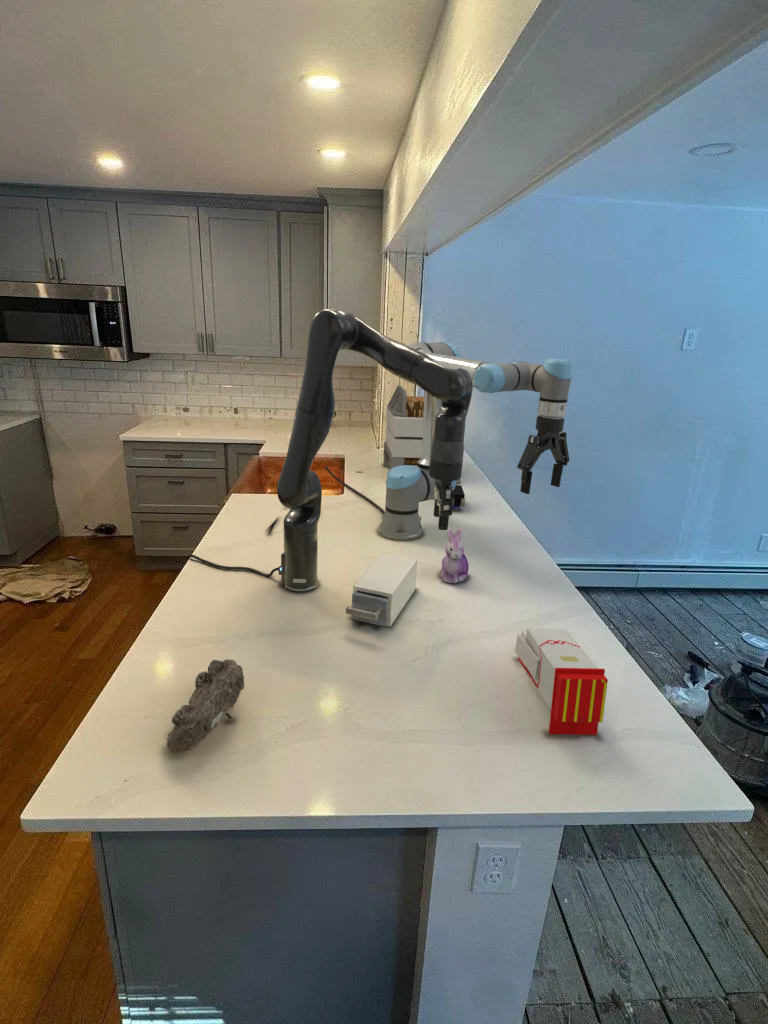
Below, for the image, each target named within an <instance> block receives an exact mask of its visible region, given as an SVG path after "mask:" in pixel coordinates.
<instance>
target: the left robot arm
mask: <svg viewBox="0 0 768 1024" xmlns="http://www.w3.org/2000/svg"><path fill="white" fill-rule="evenodd" d="M308 331H309V332H308V339H307V348H306V349H307V351H306V357H305V358H306V360H305V367H304V371H303V377H302V381H301V386H300V392H299V396H298V400H297V404H296V409H295V412H294V413H295V414H294V419H293V424H292V430H291V433H290V438H289V443H288V447H287V453H286V455H285V458H284V463H283V465H282V468H281V472H280V475H279V477H278V480H277V485H276V495H277V499H278V501H279V502H280V504H281V505H282V506H283V507H286V508H285V509H289V511H288V512H287V514H286V515H285V516H284V518H283V521H282V522H283V523H282V524H283V525H282V526H283V527H282V529H283V552H282V553H281V554H280V566H278V567H275V568H273V569H271V571H270V573H263V572H261V571H259V570H257V569H255V568H252V567H248V566H247V567H246V566H227V565H220V564H217V563H214V562H211V561H208V560H206V559H204V558H201V557H199V556H197V555H196V554H189V555H187V556H186V557H185V559H190V558H193V559H196V560H197V561H199V562H202V563H205V564H207V565H209V566H212V567H215V568H218V569H223V570H244V571H249V572H250V571H251V572H253V573H255V574H257V575H259V576H262V577H265V578H269V577H272V576H273V574H274V572H277V571H278V575H280V577H281V578H280V579H281V586H283V587H285V588H286V589H287V590H289V591H292V592H300V593H301V592H309V591H312V590H314V589H315V588H317V587H318V583H319V581H318V524H319V521H320V518H321V513H322V512H321V511H322V496H323V494H322V493H323V491H322V489H323V488H322V483H321V479H320V477H319V475H318V474H317V473H316V472H315V471H313V469H311V467H312V463H313V461H314V459H315V458H316V455H317V454H318V452H319V451H320V450H321V447H322V446H323V444H324V442H325V441H326V439H327V437H328V435H329V433H330V430H331V426H332V423H333V418H334V414H335V408H336V396H335V390H334V383H333V376H334V368H335V364H336V361H337V359H338V358H337V357H338V354H339V351H343V350H347V351H351V352H355V353H359V354H361V355H364V356H366V357H368V358H370V359H372V360H374V361H375V362H376V363H377V364H379V366H381V367H382V368H384V369H385V370H386V371H388V372H389V373H391V374H392V375H394V376H396V377H398V378H400V379H402V380H403V381H406V382H408V383H411V384H413V385H416V386H418V387H419V388H420V389H421V390H422V391H423V392H424V391H426V392H427V393H428V394H430V395H431V396H433V397H435V398H436V399H438V400H441V401H442V402H441V408H440V411H439V412H438V413H437V415H436V417H435V422H434V434H433V441H432V445H431V455H430V466H429V476H430V477H431V478H433V479H435V484H434V493H433V495H434V499H433V501H434V507H433V517H435V518H438V522H437V528H438V530H439V531H448V530H449V520H450V516H452V515H453V510H452V506H453V495H454V490H453V487H452V484H451V482H452V481H454V480H455V481H456V480H459V479H460V480H461V478H462V470H463V464H464V463H463V462H464V453H465V435H466V420H467V415H468V412H469V409H470V404H471V401H472V397H473V389H474V387H473V381H472V378H471V375H470V374H469V373H468V372H467V371H466V370H465V369H462V368H454V369H448V368H446V367H443V366H441V365H439V364H437V363H435V362H434V360H433V359H432V358H431V357H430V356H428V355H426V354H424V353H422V352H420V351H418V350H415V349H413V348H411V347H409V346H408V345H406V344H404V343H402V342H400V341H397V340H395V339H394V338H391V337H389V336H387V335H385V334H382V332H379V331H378V330H377V329H374V328H373V327H371V326H370V325H368V324H367V323H366V322H364V321H362V320H361V319H359V318H358V317H357V316H356V315H354V314H353V313H351V312H350V311H347V310H345V309H341V308H325V309H321V310H319V311H318V312H316V313H315V315H314V316H313V317H312V320H311V323H310V326H309V330H308ZM445 507H447V509H445Z"/></svg>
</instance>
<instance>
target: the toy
mask: <svg viewBox="0 0 768 1024" xmlns="http://www.w3.org/2000/svg"><path fill="white" fill-rule="evenodd" d="M520 632H521V633H520V634H519V633H518V634H517V635H516V642H515V647H514V653H515V654H516V655H517V660H518V661H519V663H520V664H521V666H522V667H523V669H524V670H525V672H526V673H527V675H528V676H529V678H530V680H531V681H532V683H533V684H534V685H535V687H536V688H537V689H538V692H539V694H540V696H541V697H542V699H543V701H544V702H545V704H546V706H547V708H548V710H549V711H550V716H549V724H548V734H549V735H566V736H567V735H568V736H569V735H571V736H575V735H576V736H597V735H598V730H599V723H603V722H604V714H605V705H606V698H607V689H608V682H609V680H608V678H607V677H606V676H605V674H606V669H604V668H599V667H598V666H597V664H596V663H594V662H593V660H592V659H591V657H589V655H588V654H587V653H586V652H585V650H584V649H583V648H582V647H581V646H580V644H579V643H578V642H577V641H576V640H575V639H574V637H573V636H572V635H571V634H570V632H569V631H568V630H567V629H566V628H535V627H534V628H533V627H532V628H531V627H529V628H526V630H523V629H521V631H520Z"/></svg>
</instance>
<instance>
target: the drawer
mask: <svg viewBox="0 0 768 1024" xmlns="http://www.w3.org/2000/svg"><path fill="white" fill-rule="evenodd" d="M345 614H346V615H349V616H351V620H354V621H358V622H363V623H367V624H372V625H377V626H381V627H387V626H386V625H387V616H388V597H386V596H381V595H376V594H372V593H367V592H362V591H360V593H357V592H353V591H352V594H351V605H350V606H347V607H346V608H345Z"/></svg>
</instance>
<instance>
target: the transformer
mask: <svg viewBox="0 0 768 1024" xmlns="http://www.w3.org/2000/svg"><path fill="white" fill-rule="evenodd" d="M407 394H408V393H407V390H406V389H404V388H403V387H402V385H399V384H398V385H397V386H396V388H395V390H394V392H393V394H392V395H391V398H390V400H389V402H388V404H387V405H386V413H385V414H386V415H385V423H386V428H385V438H384V442H383V466H384V467H388V468H389V471H390V470H391V469H392V468H394V467H397V466H402V465H405V466H407V465H413V466H417V467H418V460H419V459H421V458H422V444H423V412H424V396H415V395H414V396H413V395H412V396H411V395H407ZM459 483H461V478H460V479H459V480H456V484H459Z"/></svg>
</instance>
